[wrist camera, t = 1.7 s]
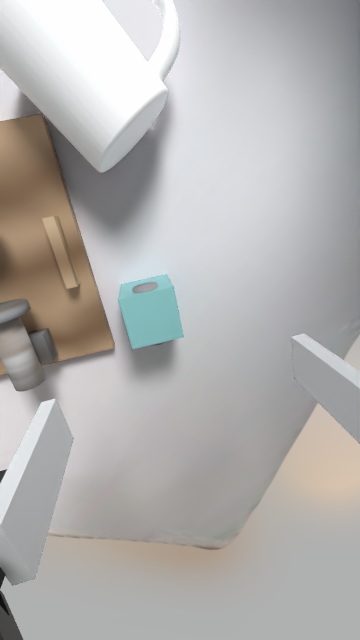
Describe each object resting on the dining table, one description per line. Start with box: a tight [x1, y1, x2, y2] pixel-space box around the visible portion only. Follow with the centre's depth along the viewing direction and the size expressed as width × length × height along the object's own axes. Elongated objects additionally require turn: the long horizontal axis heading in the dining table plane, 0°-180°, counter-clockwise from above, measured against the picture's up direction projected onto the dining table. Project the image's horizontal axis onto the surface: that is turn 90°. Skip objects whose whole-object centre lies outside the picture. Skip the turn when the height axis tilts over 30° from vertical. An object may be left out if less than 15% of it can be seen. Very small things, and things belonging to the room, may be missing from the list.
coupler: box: [118, 274, 184, 349], centre depth 29 cm, size 6×5×6 cm
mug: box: [0, 0, 180, 172], centre depth 21 cm, size 12×10×8 cm
